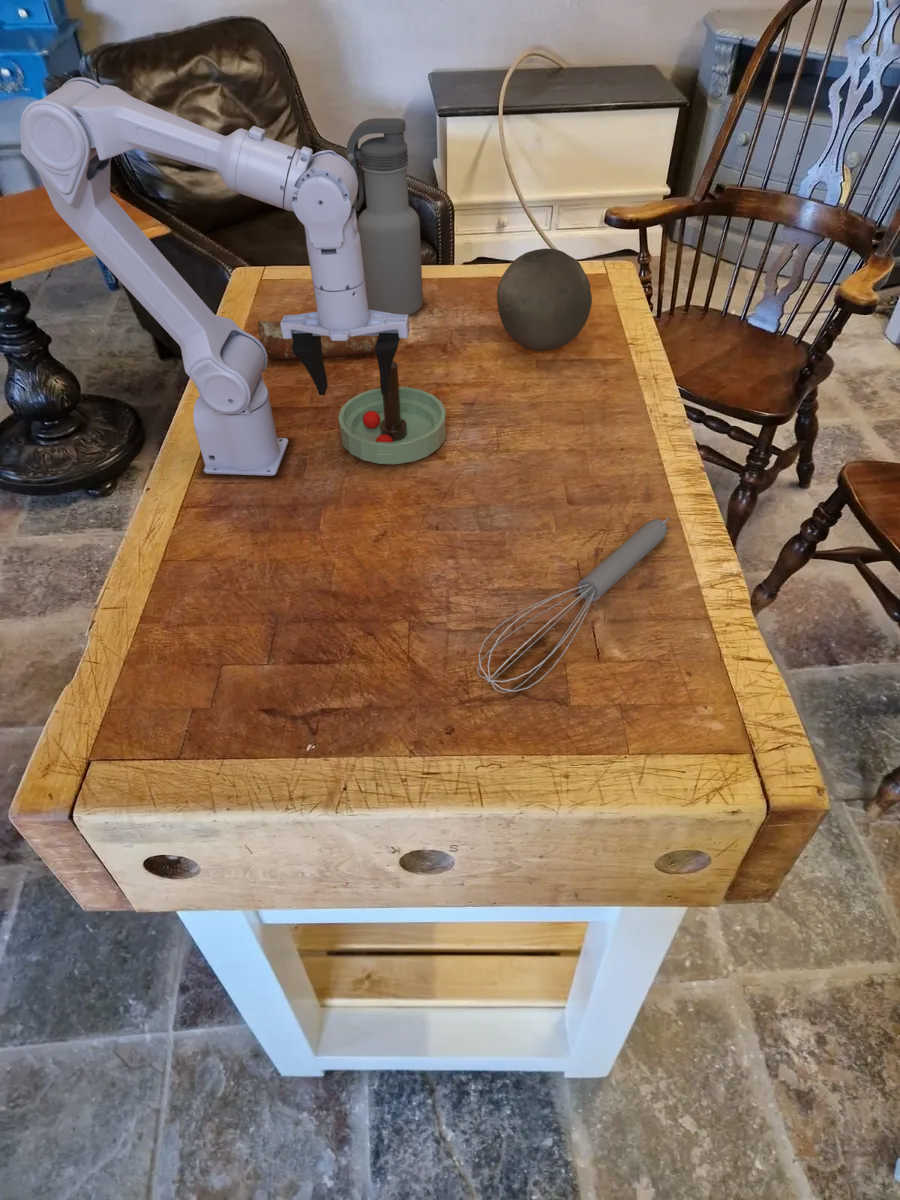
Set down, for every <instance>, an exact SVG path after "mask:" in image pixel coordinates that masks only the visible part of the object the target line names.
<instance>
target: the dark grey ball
mask: <svg viewBox="0 0 900 1200" xmlns="http://www.w3.org/2000/svg"><path fill="white" fill-rule="evenodd" d="M501 276H502V277H501V278H500V280H499V282H498V286H497V290H496V303H497V309H498V310H497V311H498V315H499V318H500V322H501V324H502V326H503V328H504V330H505V332H506V334H507V335H508V336H509V337H510V338H511V339H512V341H514V343H516V344H517V345H519V346H521V348H524V349H527V350H528V349H529V350H531V351H533V352H538V353H543V352H548V351H554V350H557V349H560V348H562V347H564V346H566V345H568V344H569V343H571V342H573V340H574V339H576V338H577V337H578V335H579V334H580V333H581V331H582V330H583V328H584V327H585V325H586V323H587V321H588V319H589V316H590V312H591V309H592V305H593V295H592V291H591V283H590V281H589V278H588V276H587V274H586V272H585V270H584V269H583V266H582V265H581V263H580V262H579V261H578V260H577V259H575V257H573V256H571V255H569V254H567V253H566V252H565V251H563V250H560V249H556V248H538V249H533V250H530V251H527V252H525V253H522V254H521V255H519V256H518V257H516V258H515V259H514V260H513V261H512V262H511V263H510V265H509V266H508V267H507V268H506V269H505V271H504V272H503V274H502V275H501Z"/></svg>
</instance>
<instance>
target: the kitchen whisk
mask: <svg viewBox="0 0 900 1200" xmlns="http://www.w3.org/2000/svg"><path fill="white" fill-rule="evenodd" d="M670 519H671V518H670V516H668V517H667V518H665V519H664V520H662V519H659V518H654V519H652V520H650V521H647V522H646V523H645V524H644V525H642V526H641V527H640V528H639V529H638V530H637V531H636V532H634V534H632V535H631V536H630V537H629V538H628V539H627V540H625V541H624V542H623V543H622V544H621V545H619V546H618V547H617V548H616V549H615V550H614V551H613V552H612V553H610V554H609V556H607V557H606V558H605V559H604V560H602V561H601V562H600V563H599V564H598V565H597V566H596V567H594V568H592V570H591V571H590V572H589V573H588V574H587V575H585V576H584V577H582V579H581V580H580V581H579V582H578V584H577V586H576V587H574V588H571V589H568V590H565V591H563V592H559V593H557V594H554V595H552V596H550V597H547V598H545V599H542V600H540V601H538V602H536V603H533V604H532V605H530V606H528V607H526V608H524V609H522V610H520V611H519V612H517V613H515V614H514V615H511V616H510V617H509V618H507V619H506V620H504V621H502V623H500V624H499V625H498V626H496V627H495V629H493V630H492V631H491V632H490V634H488V636H487V637H486V638H485V640H484V641H483V642H482V644H481V647H480V649H479V652H478V662H479V663H478V665H477V668H476V670H477V675H478V677H480V678H482V679H484V680H486V684H487V685H489V684H491V686H492V687H493V689H494V691H497V692H499V693H501V694H506V693H510V692H514V693H515V692H520V691H525V690H527V689H530V688H531V687H532V686H535V685H536V684H538V683H539V682H540V681H542V680H543V679H544V677H546V675H548V674H549V673H550V672H551V671H552V670H553V669H554V667H555V666H556V665H557V664H558V662H559V661H560V660H561V658H562V657H563V656H564V654H565V652H566V651H567V650H568V648H569V647H570V645H571V643H572V641H573V640H574V639H575V637H576V634H577V633H578V631H579V629H580V627H581V626H582V623H583V621H584V619H585V617H586V615H587V613H588V611H589V608H590V606H591V604H592V602H597V601H598V600H599V599H600V598H602V597H603V595H605V594H606V593H607V591H609V590H610V589H611V588H612V587H613V586H614V585H615V584H617V582H619V580H621V579H622V578H623V577H624V576H625V575H626V574H627V573H629V571H631V570H632V569H633V568H634V567H635V566H636V565H638V563H640V561H642V560H643V559H644V558H645V557H646V556H647V555H648V554H649V553H650V552H651V551H652V550H653V549H654V548H656V546H658V545H659V544H660V543H661V542H662V541H663V540H664V539H665V537H666V535H667V534H668V526H667V524H666V523H667V522H668V521H669V520H670ZM575 590H578V591H577V592H574V593H573V594H571V595H569V596H568V597H566V598H564V599H562V600H561V601H559V602H557V603H555V604H554V605H552V606H550V607H549V608H547V609H545V610H543V611H541V613H539V614H537V615H535V616H533V617H532V618H531V619H529V620H528V621H526V622H525V623H523V624H522V625H520V626H519V627H517V628H515V629H514V630H513V631H511V632H510V633H508V635H506V636H504V637H503V638H502V636H503V635H504V634H505V633H506V632H507V630H508V629H509V628H511V627H512V626H513V625H515V623H517V622H518V621H519V620H520V619H522V618H523V617H524V616H526V615H527V614H529V613H531V612H532V611H533V610H535V609H537V608H539V607H540V606H542V605H544V604H545V603H547V602H549V601H552V600H554V599H556V598H558V597H560V596H563V595H565V594H568V593H570V592H573V591H575ZM577 594H580V595H579V596H578V597H577V598H575V599H573V601H571V602H570V603H569V604H568V605H567V606H565V608H563V609H562V610H560V611H559V612H558V613H557V614H556V615H555V616H553V617H552V618H551V619H550V620H549V621H548V622H547V623H546V624H544V625H543V626H542V627H541V628H540V629H538V630H537V631H536V632H535V633H534V634H533V635H531V636H530V638H528V639H527V640H526V641H525V642H524V643H523V644H521V646H520V647H519V648H518V649H517V650H515V651H514V653H512V655H510V657H508V658H507V659H506V660H505V661H504V662H503V663H502V664H501V665H500V666H499V667H498V668H497V669H496V671H495V672H494V673H493V674H492V675H491V672H490V671H491V670H490V662H491V658H492V653H493V651H494V649H495V648H496V647H497V646H498V645H499V644H500V643H502V642H503V641H505V639H507V638H509V637H510V636H511V635H512V634H514V633H515V632H516V631H518V630H520V629H521V628H523V627H524V626H526V625H527V624H528V623H530V622H532V621H533V620H535V619H537V618H538V617H539V616H541V615H543V614H545V613H546V612H547V611H549V610H551V609H553V608H555V607H556V606H558V605H559V604H562V603H563V602H565V601H566V600H569V599H570V598H572V597H573V596H576V595H577ZM583 598H584V599H585V602H584V604H583V605H582V607H581V609H580V610H579V612H578V613H577V615H576V616H575V618H574V620H573V621H572V622H571V624H570V625H569V627H568V628H567V630H566V631H565V633H564V634H563V635H562V637H561V638H560V639H559V641H558V642H557V644H556V645H555V646H554V648H553V649H552V650H551V651H550V653H549V654H548V655H547V656H546V657H545V658H544V659H543V660H542V661H541V662H540V663H539V664H537V665H536V666H534V667H533V668H531V669H530V670H528V671H527V672H525V673H522V674H520V675H518V676H516V677H513V678H509V679H505V680H498V679H497V678H498V677H500V675H502V674H503V673H504V672H505V671H507V669H508V668H510V667H511V665H513V664H514V663H515V662H516V661H517V660H518V659H519V658H520V657H521V656H523V654H525V653H526V652H527V651H528V650H529V649H530V648H531V647H533V646H534V645H535V644H536V643H537V641H539V640H540V639H541V638H542V637H543V636H544V635H546V633H547V632H548V631H549V630H550V629H551V628H552V627H554V626H555V625H556V624H557V623H558V622H559V621H560V620H561V619H562V618H563V617H564V616H565V615H566V614H567V613H568V612H569V611H570V610H571V609H573V607H575V606H576V605H578V603H579V602H580V601H581V600H582V599H583ZM569 607H570V608H569ZM527 610H528V611H527ZM525 611H526V612H525ZM564 611H565V612H564ZM563 612H564V613H563ZM521 613H523V614H522V615H521V616H518V617H517V618H516V619H515V620H514V621H513V622H511V624H510V625H508V626H507V627H506V629H504V630H503V632H501V634H500V635H499V636H498V638H497V639H496V641H495V642H494V644H493V646H492V647H491V648H490V649H489V650H488V651H487V652H486V653H485V655H483V657H481V653H482V650H483V647H484V645H485V644H486V642H487V641H488V640H489V638H490V637H491V636H492V634H493V633H494V632H495V631H497V630H498V629H499V628H500V627H502V626H503V625H504V624H505V623H506V622H508V621H510V620H512V619H513V618H515V617H516V616H517V615H519V614H521ZM562 613H563V614H562ZM561 614H562V615H561ZM559 615H561V616H559ZM558 616H559V618H557V617H558ZM582 616H583V617H582ZM556 618H557V620H556V621H555V622H553V624H551V625H550V626H549V627H548V628H547V629H546V630H545V631H543V633H542V634H541V635H539V637H537V638H536V640H534V641H533V642H532V643H531V644H530V645H528V647H527V648H526V649H524V650H523V651H522V653H520V654H519V655H518V656H517V657H515V659H513V660H512V662H511V663H509V664H508V665H507V666H506V667H505V668H504V669H503V670H501V669H502V668H503V667H504V665H506V664H507V663H508V662H509V661H510V660H511V658H513V657H514V656H515V655H516V654H517V653H518V652H519V651H520V650H521V649H522V648H524V646H525V645H527V644H528V643H529V642H530V641H531V640H532V639H533V638H534V637H536V636H537V635H538V634H539V633H540V632H541V631H542V630H543V629H545V628H546V627H547V626H548V625H549V624H550V623H551V622H552V621H553V620H555V619H556ZM581 618H582V619H581ZM580 619H581V621H580ZM579 621H580V622H579ZM578 623H579V624H578ZM577 624H578V626H577ZM576 626H577V628H576V630H575V632H574V633H573V635H572V637H571V639H570V641H569V642H568V644H567V645H566V646H565V649H564V650H563V651H562V653H561V655H560V656H559V657H558V659H557V660H556V661H555V662H554V664H553V665H552V666H551V667H550V669H548V670H547V671H546V672H545V673H544V674H543V675H542V676H541V677H540V678H539V679H537V680H536V681H534V682H533V683H531V684H530V685H528V686H525V687H522V685H524V684H525V683H526V682H527V681H528V680H529V679H530V678H531V677H533V676H534V675H535V674H536V672H537V671H539V669H540V668H541V667H542V666H543V665H544V663H546V661H547V660H548V659H549V658H550V657H551V656H552V655H553V654H554V653H555V652H556V651H557V649H558V648H560V647H561V645H562V644H563V643H564V642H565V641H566V639H567V638H568V637H569V635H570V634H571V632H572V631H573V630H574V628H575V627H576ZM500 639H501V640H500ZM488 655H489V656H488ZM487 656H488V661H487V672H488V675H487V673H486V672H485V670H484V669H483V667H482V661H484V659H485V658H486V657H487ZM479 668H480V670H481V671H482V673H483V674H484V676H483V675H481V673H480V670H479ZM500 670H501V671H500ZM499 671H500V672H499ZM498 672H499V673H498ZM532 672H533V673H532ZM497 673H498V674H497ZM530 673H531V674H530ZM496 674H497V675H496ZM528 674H530V675H529V676H528V677H527V678H526V679H525V680H524V681H523V682H521V683H519V685H517V686H515V687H514V688H512V689H509V688H504V687H501V686H500V685H499V684H497V683H505V682H509V681H515V680H517V679H520V678H521V677H524V676H527V675H528ZM494 676H495V677H494ZM496 687H497V688H496ZM520 687H522V688H520ZM498 688H499V689H500V690H499V689H498Z"/></svg>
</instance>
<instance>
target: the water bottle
mask: <svg viewBox="0 0 900 1200" xmlns="http://www.w3.org/2000/svg"><path fill="white" fill-rule="evenodd" d="M406 128H407V127H406V120H405V119H403V118H398V117H396V118H395V117H391V118H390V117H389V118H387V117H386V118H381V117H379V118H378V117H377V118H376V117H375V118H368V119H366V120H363V121H362V122H360V123H359V124H358V125H357V126H356V127H355V128H354V130H353V131H352V133H351V135H350V137H349V138H348V140H347V143H346V158H347V159H346V160H347V161H348V162H351V166H352V167H353V169H354V170H355V173H356V175H357V179H358V195H357V196H356V199H355V201H354V203H353V205H352V208H354V209H355V211H356V212H360V210H361V208H362V205H363V203H364V200H365V202H366V208H365V209H363V210H362V211H361V212H360V214H359V216H358V219H357V223H358V233H359V235H360V242H361V251H362V259H363V268H364V276H365V285H366V294H367V302H368V310H374V311H380V312H386V313H391V314H400V315H408V316H412V315H413V314H415V313H417V312H419V310H420V309H421V308H422V306H423V303H424V293H423V271H422V270H423V269H422V248H421V223H420V222H421V221H420V216H419V215H418V213H417V211H416V210H415V209H414V208H412V206H410V204H409V189H408V187H409V185H408V167H409V163H408V162H409V158H408V157H409V156H408V155H409V154H408V144H407V142H406V141H405V133H404V132H406ZM374 134H383V136H376V137H372V138H368V139H366V140H365V141H364V142H362V143H361V144H360V146H359V141H360V139H361V138H363V137H365V136H368V135H374ZM359 160H360V161H359ZM360 163H361V166H360Z"/></svg>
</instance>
